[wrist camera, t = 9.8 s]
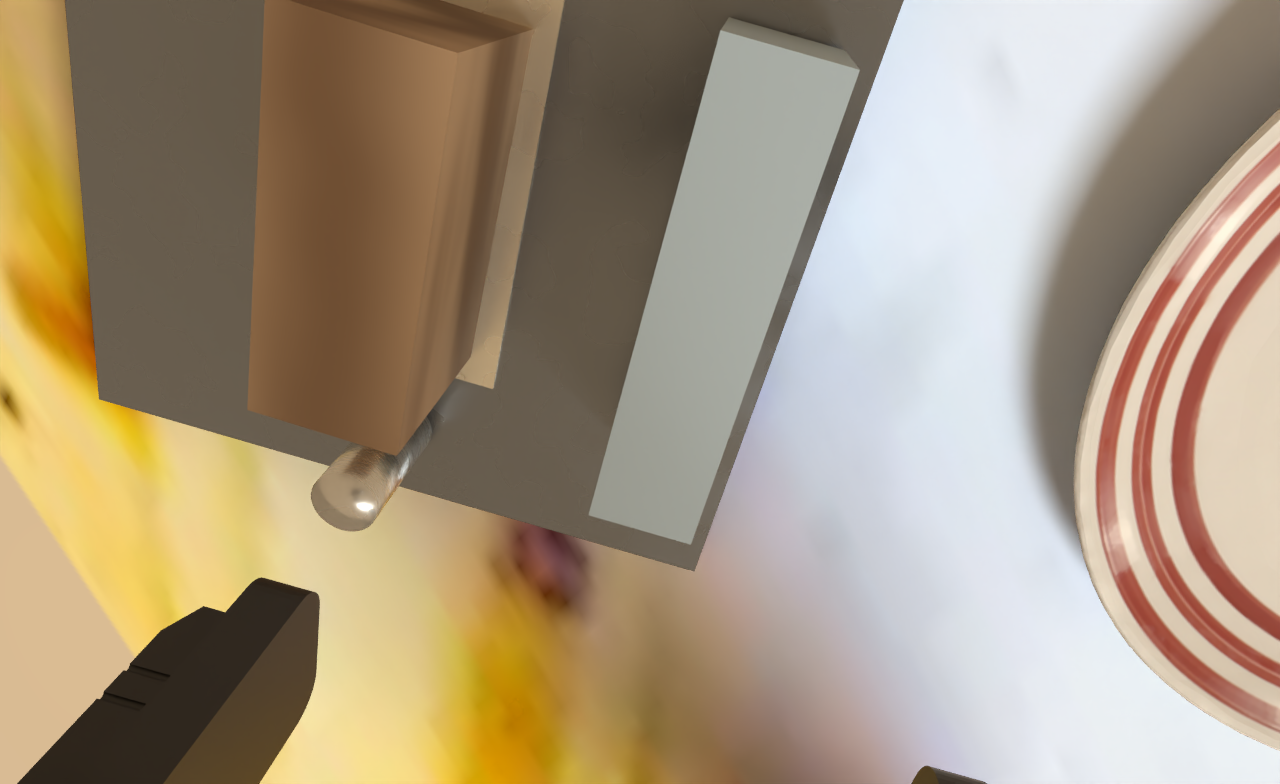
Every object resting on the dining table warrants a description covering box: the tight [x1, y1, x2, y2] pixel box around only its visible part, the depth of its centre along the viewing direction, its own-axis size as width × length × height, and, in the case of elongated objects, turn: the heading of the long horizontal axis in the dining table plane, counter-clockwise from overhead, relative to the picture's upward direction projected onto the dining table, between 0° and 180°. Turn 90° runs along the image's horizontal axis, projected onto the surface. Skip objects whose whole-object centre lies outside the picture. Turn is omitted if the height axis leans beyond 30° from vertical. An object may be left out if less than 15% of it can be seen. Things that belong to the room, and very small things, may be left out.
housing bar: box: [589, 17, 860, 545], centre depth 22 cm, size 3×13×4 cm, turn 166°
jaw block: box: [247, 0, 533, 456], centre depth 22 cm, size 4×10×6 cm, turn 165°
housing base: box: [65, 0, 904, 571], centre depth 23 cm, size 22×22×6 cm
